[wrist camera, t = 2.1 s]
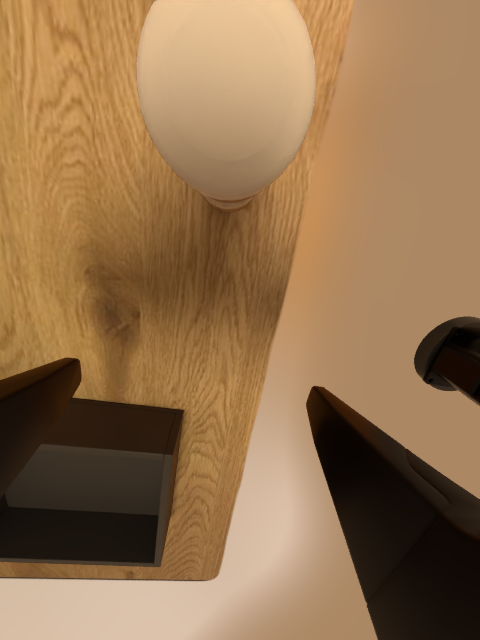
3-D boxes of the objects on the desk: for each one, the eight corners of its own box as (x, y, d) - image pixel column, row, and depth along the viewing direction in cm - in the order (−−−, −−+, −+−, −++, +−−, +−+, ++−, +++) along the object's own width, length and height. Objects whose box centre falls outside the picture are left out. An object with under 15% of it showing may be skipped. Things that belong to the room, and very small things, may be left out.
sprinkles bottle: (211, 132, 17) (165, -124, 4) (267, 164, 18) (360, 24, 5) (190, 197, 18) (109, 143, 6) (242, 223, 19) (268, 223, 7)
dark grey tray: (183, 410, 26) (172, 455, 21) (170, 514, 34) (160, 567, 28) (-28, 387, 24) (-99, 431, 19) (7, 504, 31) (-37, 560, 26)
